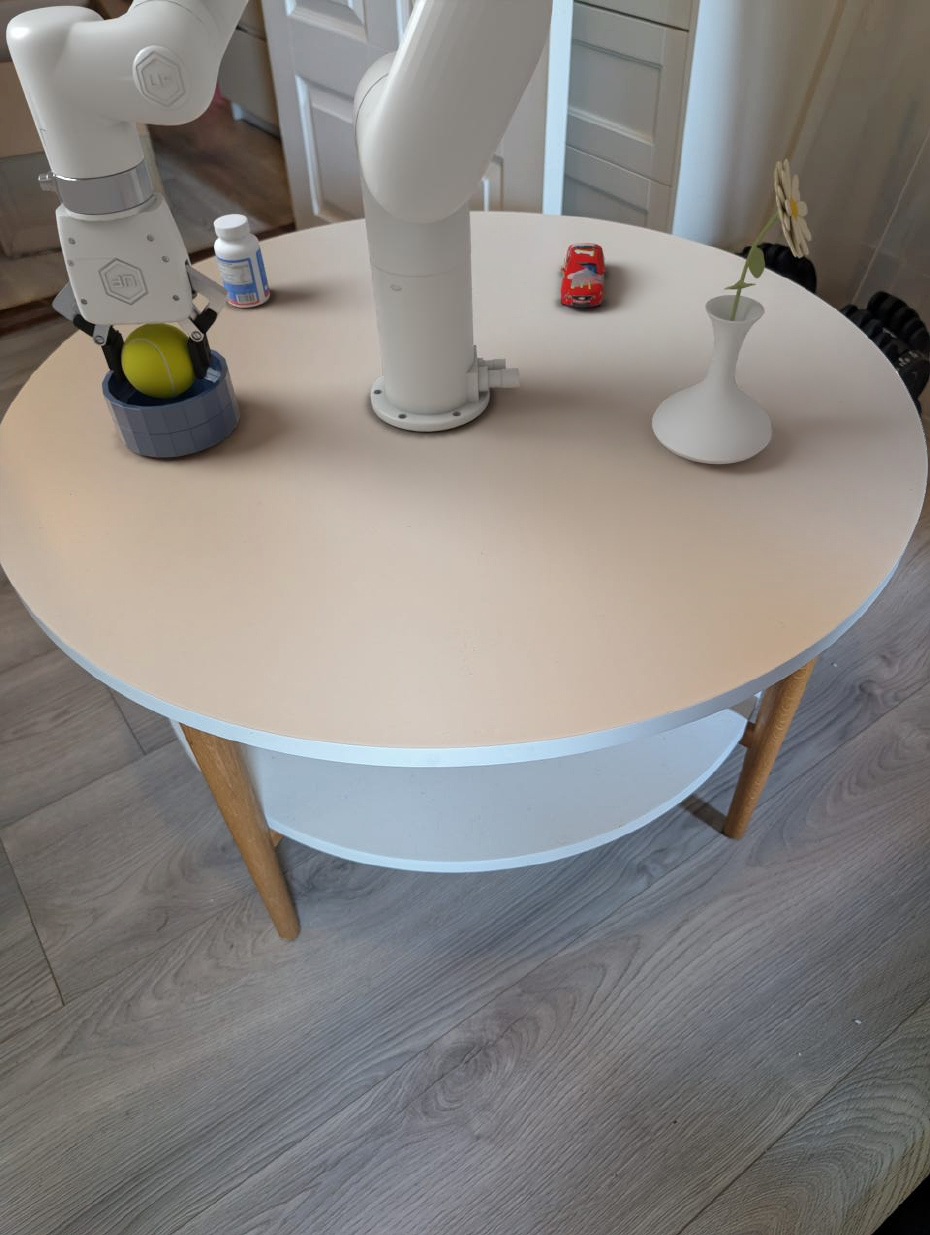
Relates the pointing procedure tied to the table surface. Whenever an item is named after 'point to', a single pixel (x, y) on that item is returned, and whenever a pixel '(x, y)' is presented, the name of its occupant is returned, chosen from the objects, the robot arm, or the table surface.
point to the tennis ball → (158, 360)
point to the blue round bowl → (174, 414)
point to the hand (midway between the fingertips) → (164, 372)
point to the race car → (583, 275)
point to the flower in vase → (731, 359)
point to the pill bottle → (240, 262)
